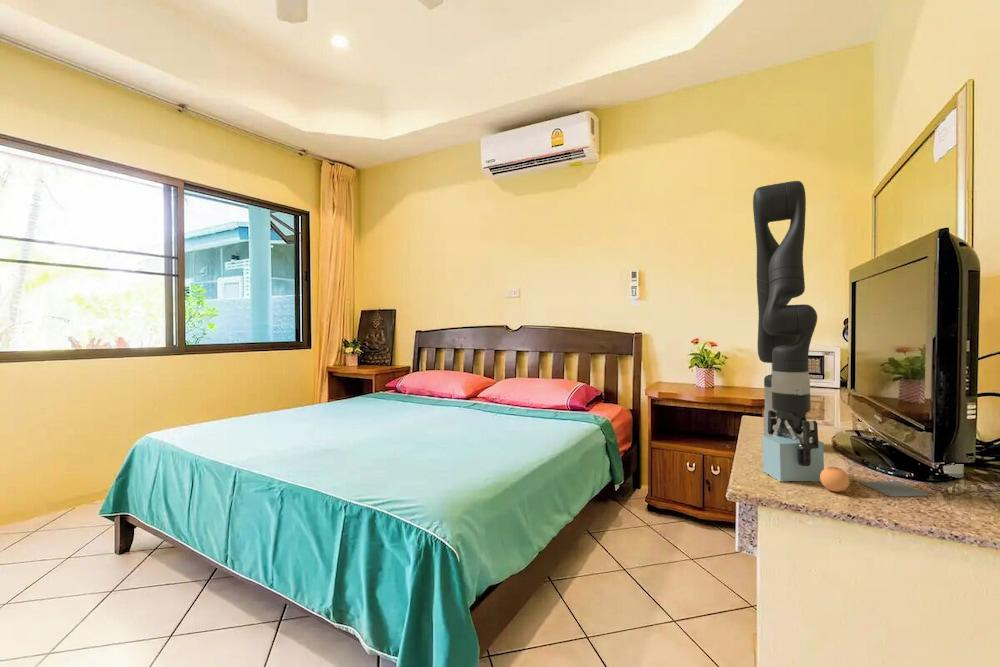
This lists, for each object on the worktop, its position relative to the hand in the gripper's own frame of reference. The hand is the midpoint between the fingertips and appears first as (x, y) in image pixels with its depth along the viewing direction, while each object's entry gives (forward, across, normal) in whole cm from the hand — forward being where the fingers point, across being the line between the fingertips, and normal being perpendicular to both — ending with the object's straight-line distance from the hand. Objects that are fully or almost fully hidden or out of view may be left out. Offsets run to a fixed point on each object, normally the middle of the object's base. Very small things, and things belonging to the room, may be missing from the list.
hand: (791, 459), depth 102 cm
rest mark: (+4, +9, +16) cm, 18 cm away
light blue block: (+4, 0, 0) cm, 4 cm away
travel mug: (+4, +1, +34) cm, 35 cm away
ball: (+2, +9, +3) cm, 9 cm away
